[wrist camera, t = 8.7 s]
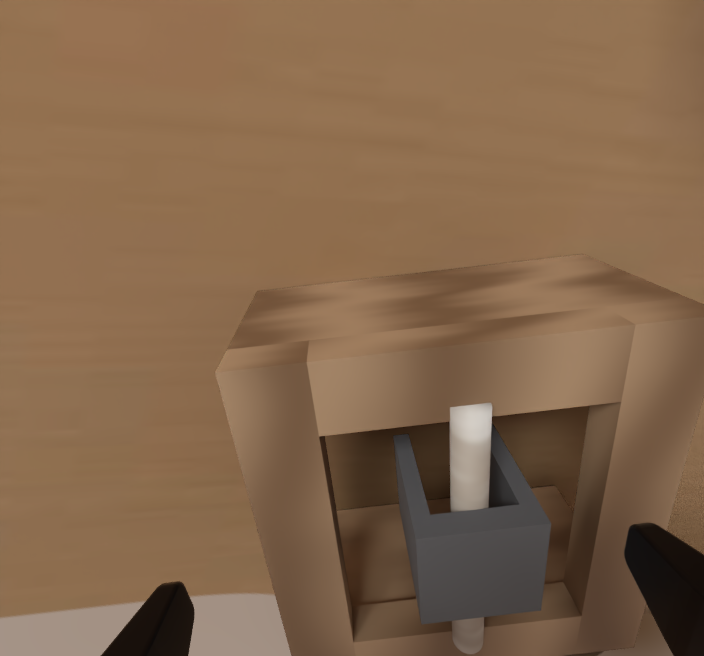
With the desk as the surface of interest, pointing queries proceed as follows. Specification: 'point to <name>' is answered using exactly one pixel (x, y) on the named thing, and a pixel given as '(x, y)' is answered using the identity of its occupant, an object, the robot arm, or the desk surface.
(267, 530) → the shelf
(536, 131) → the desk surface
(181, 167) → the desk surface
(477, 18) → the desk surface
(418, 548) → the grey slotted box
